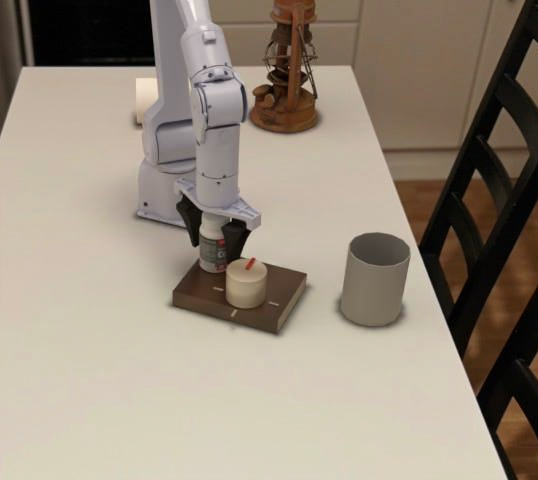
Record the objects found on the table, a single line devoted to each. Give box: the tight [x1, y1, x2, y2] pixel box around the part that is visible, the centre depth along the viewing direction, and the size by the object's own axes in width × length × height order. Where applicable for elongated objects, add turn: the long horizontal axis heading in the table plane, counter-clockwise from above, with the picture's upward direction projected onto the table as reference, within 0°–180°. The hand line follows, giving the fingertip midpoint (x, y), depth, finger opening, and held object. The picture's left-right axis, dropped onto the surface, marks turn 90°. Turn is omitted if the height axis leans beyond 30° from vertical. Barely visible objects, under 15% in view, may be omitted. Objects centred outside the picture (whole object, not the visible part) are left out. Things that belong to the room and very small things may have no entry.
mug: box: [135, 76, 192, 124], centre depth 171 cm, size 12×10×8 cm
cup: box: [340, 231, 412, 327], centre depth 127 cm, size 8×8×10 cm
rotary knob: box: [226, 257, 267, 309], centre depth 127 cm, size 6×6×5 cm
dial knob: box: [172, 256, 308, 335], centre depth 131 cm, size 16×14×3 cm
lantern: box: [249, 0, 319, 134], centre depth 163 cm, size 17×13×30 cm
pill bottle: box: [198, 211, 231, 273], centre depth 131 cm, size 5×5×8 cm
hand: (215, 253), depth 133 cm, fingers open, 6 cm apart
